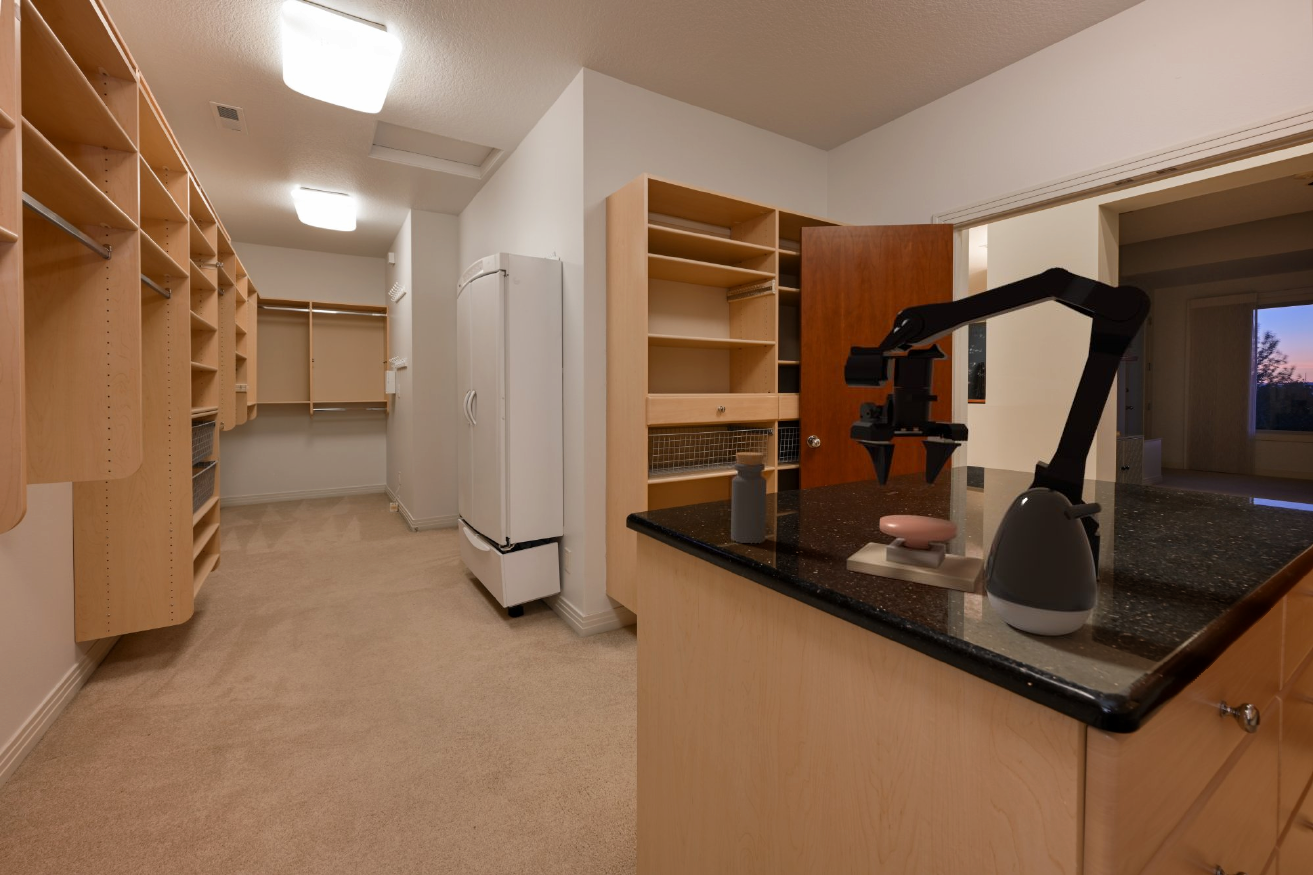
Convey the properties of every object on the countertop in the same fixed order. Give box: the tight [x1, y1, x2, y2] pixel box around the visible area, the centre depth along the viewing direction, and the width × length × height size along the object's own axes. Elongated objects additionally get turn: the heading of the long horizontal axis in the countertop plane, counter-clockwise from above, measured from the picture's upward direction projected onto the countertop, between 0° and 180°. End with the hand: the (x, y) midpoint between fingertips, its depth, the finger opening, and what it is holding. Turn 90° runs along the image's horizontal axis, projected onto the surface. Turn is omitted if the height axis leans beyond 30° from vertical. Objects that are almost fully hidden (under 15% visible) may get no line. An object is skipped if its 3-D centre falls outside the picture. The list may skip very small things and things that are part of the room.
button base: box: [846, 537, 986, 593], centre depth 82 cm, size 16×12×4 cm
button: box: [879, 514, 958, 549], centre depth 82 cm, size 10×10×3 cm
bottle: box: [730, 451, 767, 545], centre depth 98 cm, size 6×6×15 cm
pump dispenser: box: [983, 488, 1103, 636], centre depth 62 cm, size 10×10×15 cm
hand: (906, 484), depth 93 cm, fingers open, 9 cm apart
